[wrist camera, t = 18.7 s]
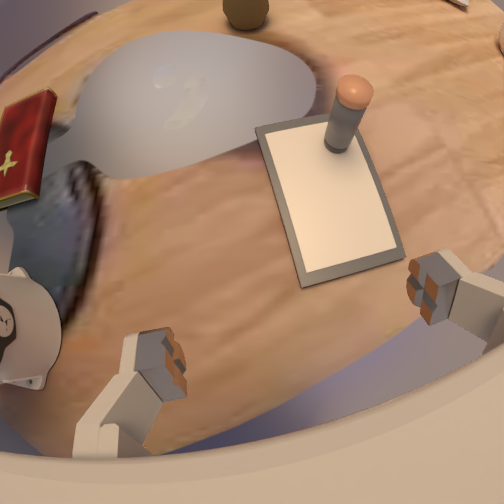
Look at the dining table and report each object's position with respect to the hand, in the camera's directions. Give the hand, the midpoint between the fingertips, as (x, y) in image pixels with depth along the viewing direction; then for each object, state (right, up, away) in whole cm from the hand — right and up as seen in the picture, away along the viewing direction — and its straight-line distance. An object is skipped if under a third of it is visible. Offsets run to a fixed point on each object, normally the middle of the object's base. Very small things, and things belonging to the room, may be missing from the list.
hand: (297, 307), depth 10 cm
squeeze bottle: (-2, +43, +38) cm, 57 cm away
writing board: (+8, +10, +31) cm, 33 cm away
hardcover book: (-42, +20, +35) cm, 58 cm away
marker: (+10, +16, +31) cm, 36 cm away
